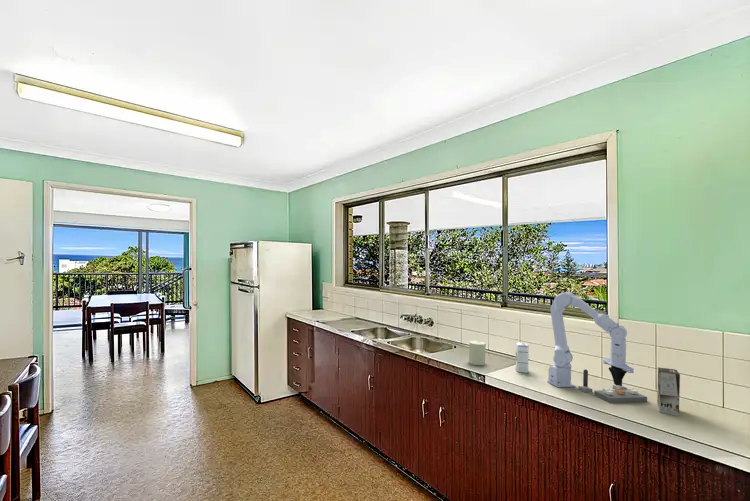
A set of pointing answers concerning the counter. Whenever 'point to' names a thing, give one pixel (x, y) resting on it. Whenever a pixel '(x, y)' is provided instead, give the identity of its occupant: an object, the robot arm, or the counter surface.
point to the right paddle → (632, 391)
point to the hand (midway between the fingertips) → (617, 384)
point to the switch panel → (620, 397)
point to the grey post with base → (619, 387)
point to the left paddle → (608, 391)
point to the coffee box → (668, 391)
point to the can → (477, 352)
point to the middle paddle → (620, 391)
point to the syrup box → (522, 357)
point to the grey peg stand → (585, 383)
